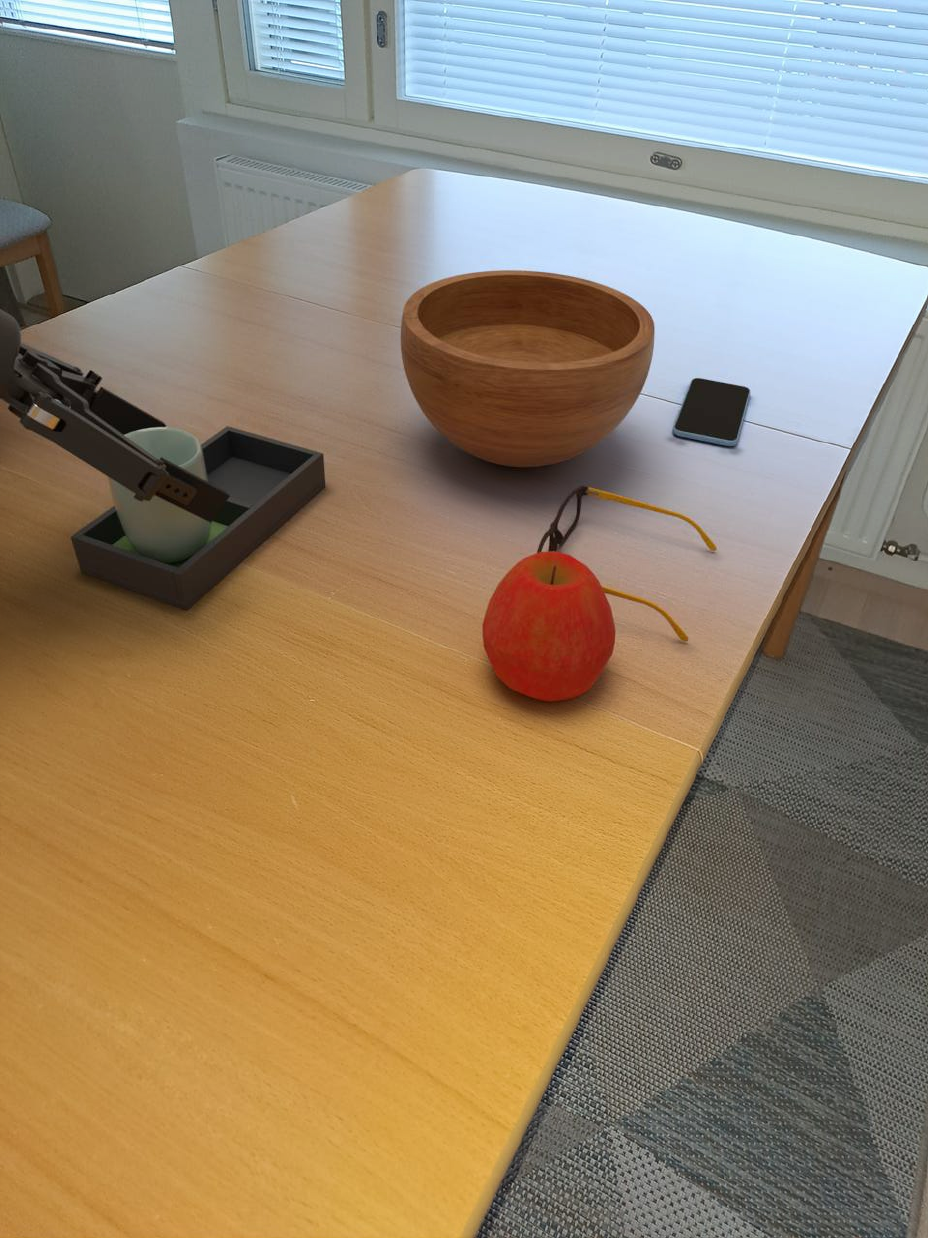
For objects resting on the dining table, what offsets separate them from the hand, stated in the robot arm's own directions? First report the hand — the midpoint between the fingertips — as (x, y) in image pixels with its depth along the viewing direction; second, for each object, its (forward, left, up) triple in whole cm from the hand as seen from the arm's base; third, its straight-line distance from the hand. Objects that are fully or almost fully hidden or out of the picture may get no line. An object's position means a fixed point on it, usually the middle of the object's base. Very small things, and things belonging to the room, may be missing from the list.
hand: (186, 469), depth 78 cm
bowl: (+19, +30, -8) cm, 37 cm away
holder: (-1, +3, -8) cm, 9 cm away
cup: (-1, -2, -7) cm, 8 cm away
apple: (+34, -1, -8) cm, 35 cm away
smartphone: (+36, +49, -8) cm, 61 cm away
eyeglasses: (+36, +14, -8) cm, 39 cm away
